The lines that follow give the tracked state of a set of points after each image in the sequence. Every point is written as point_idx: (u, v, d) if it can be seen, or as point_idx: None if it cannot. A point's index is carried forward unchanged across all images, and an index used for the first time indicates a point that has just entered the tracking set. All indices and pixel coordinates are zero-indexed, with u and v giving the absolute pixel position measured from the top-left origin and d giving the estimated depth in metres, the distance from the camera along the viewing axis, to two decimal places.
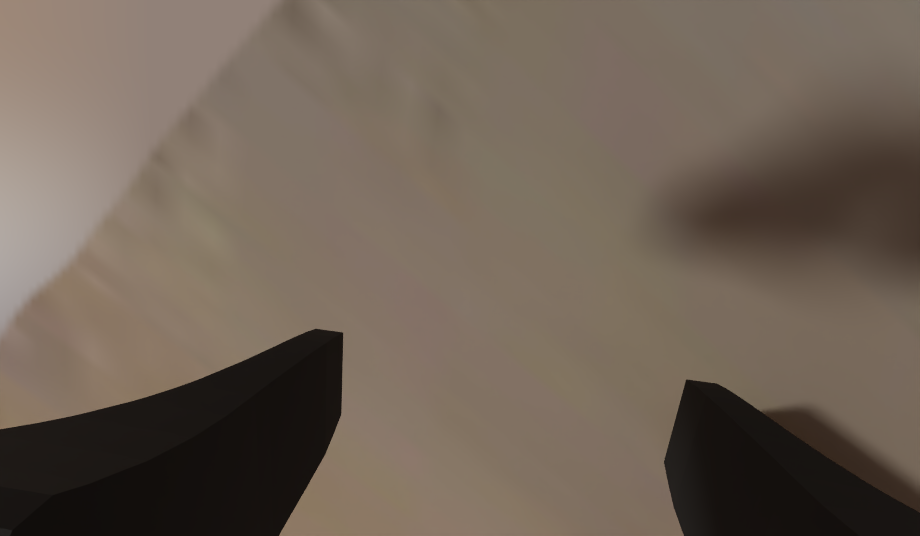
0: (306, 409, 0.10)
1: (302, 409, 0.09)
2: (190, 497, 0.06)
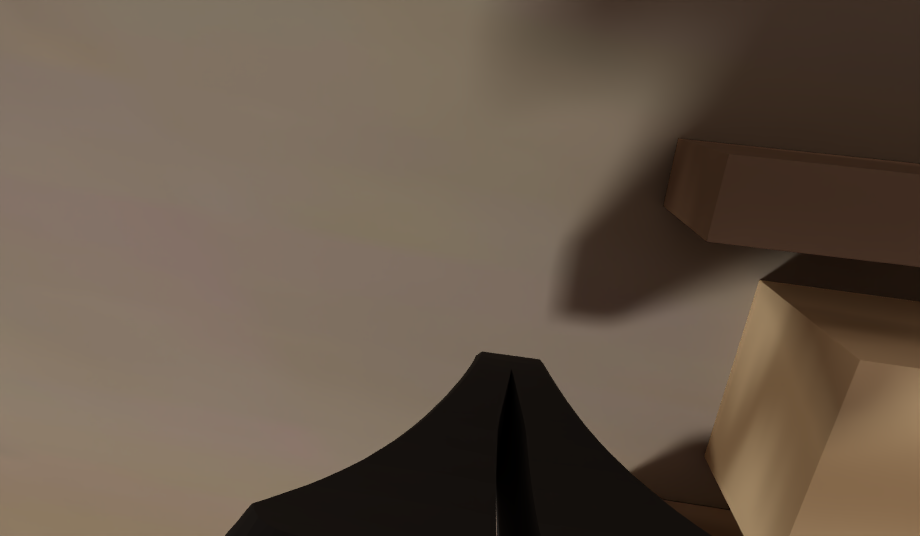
0: (499, 438, 0.09)
1: (498, 439, 0.09)
2: None
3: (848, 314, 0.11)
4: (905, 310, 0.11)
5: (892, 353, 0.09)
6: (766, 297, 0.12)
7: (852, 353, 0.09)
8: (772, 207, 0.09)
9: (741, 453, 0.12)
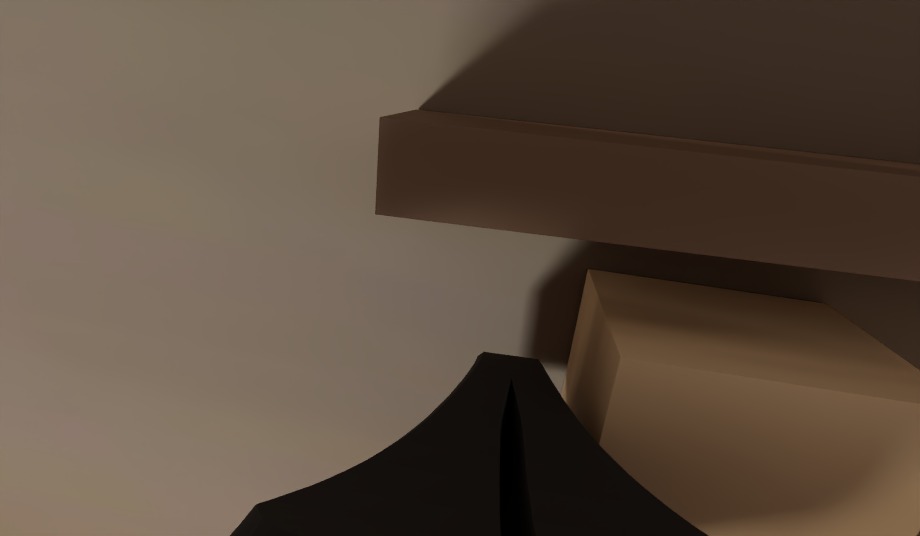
0: (501, 438, 0.09)
1: (501, 439, 0.09)
2: None
3: (658, 308, 0.10)
4: (731, 304, 0.10)
5: (668, 349, 0.08)
6: (589, 289, 0.11)
7: (618, 350, 0.08)
8: (434, 176, 0.08)
9: None
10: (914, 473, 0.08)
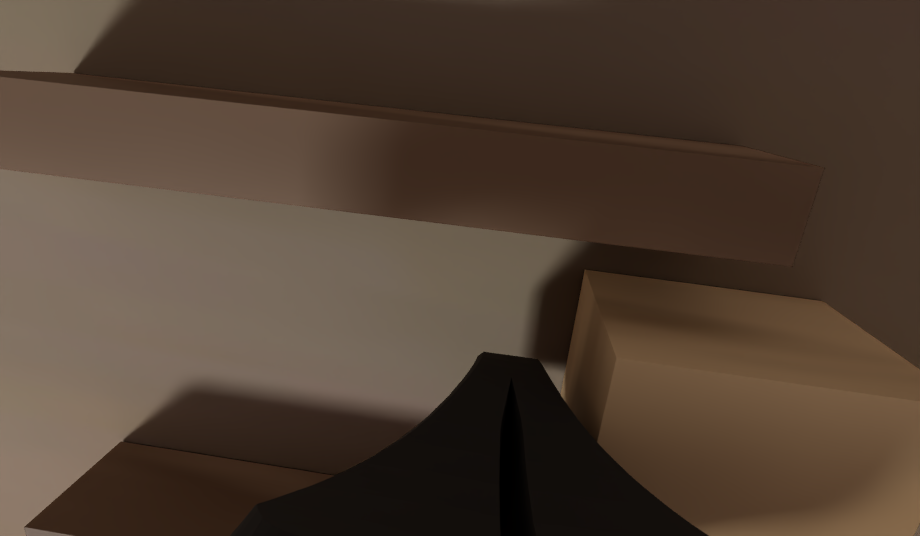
0: (501, 438, 0.09)
1: (501, 439, 0.09)
2: None
3: (654, 308, 0.10)
4: (728, 303, 0.10)
5: (664, 350, 0.08)
6: (586, 290, 0.11)
7: (613, 351, 0.08)
8: None
9: None
10: (911, 469, 0.08)
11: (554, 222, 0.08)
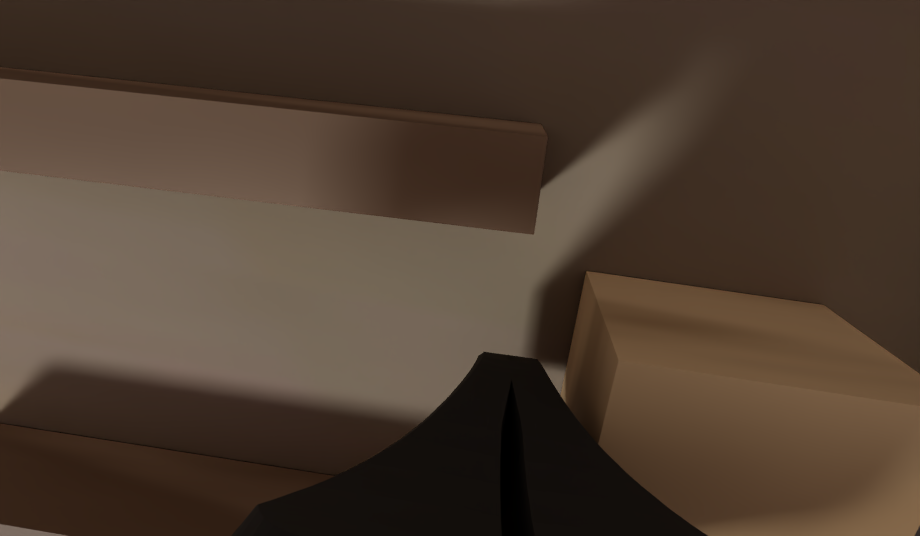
0: (502, 438, 0.09)
1: (502, 439, 0.09)
2: None
3: (656, 310, 0.10)
4: (729, 306, 0.10)
5: (666, 352, 0.08)
6: (587, 291, 0.11)
7: (616, 353, 0.08)
8: None
9: None
10: (910, 474, 0.08)
11: (308, 193, 0.09)
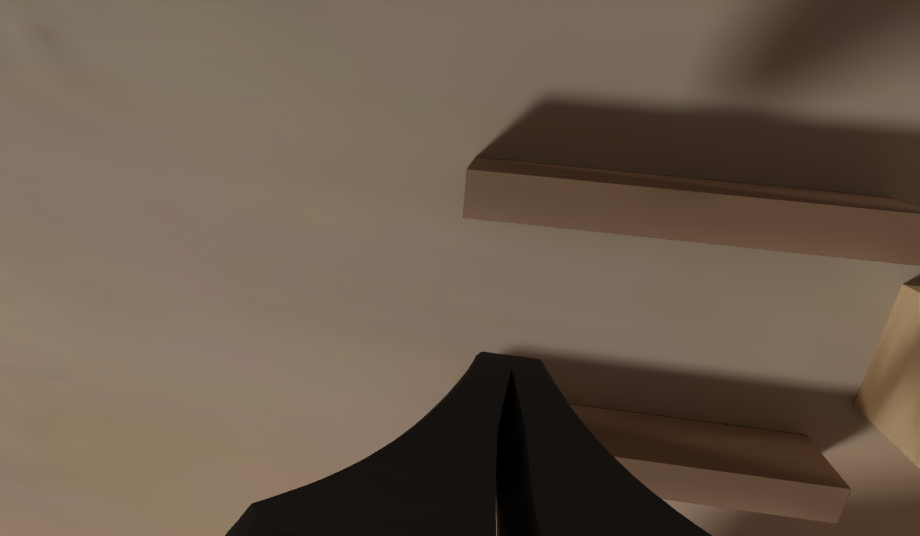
0: (499, 438, 0.09)
1: (499, 439, 0.09)
2: None
3: None
4: None
5: None
6: (910, 295, 0.18)
7: None
8: (494, 197, 0.16)
9: (892, 397, 0.18)
10: None
11: (811, 246, 0.16)
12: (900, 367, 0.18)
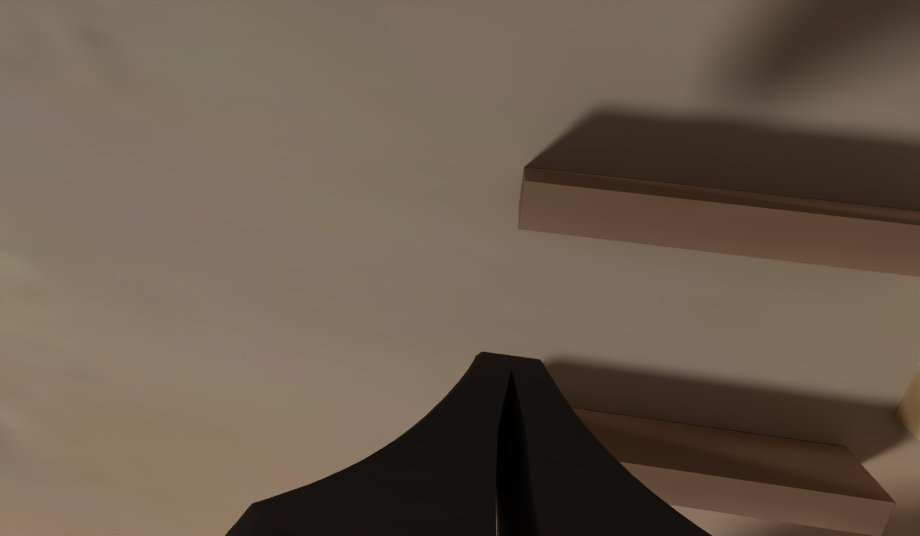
0: (499, 438, 0.09)
1: (499, 439, 0.09)
2: None
3: None
4: None
5: None
6: None
7: None
8: (551, 210, 0.16)
9: None
10: None
11: (869, 262, 0.16)
12: None
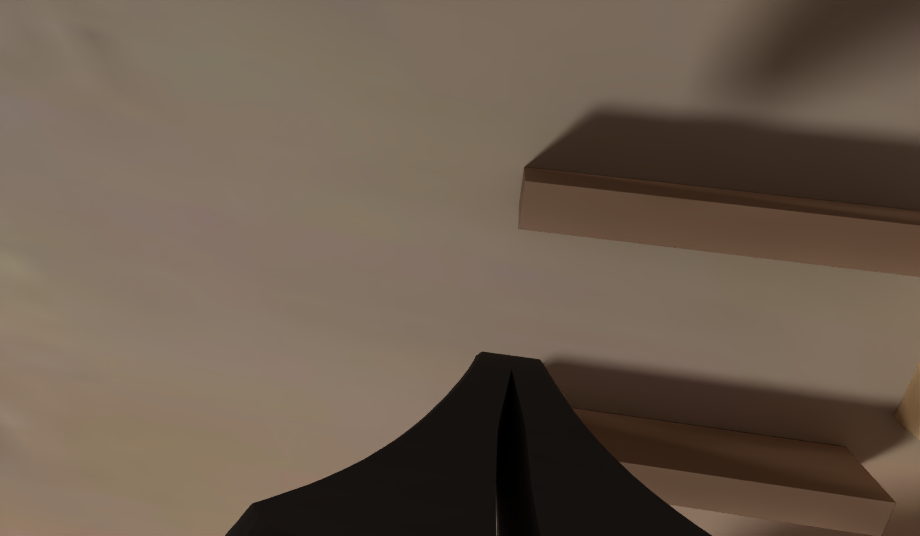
0: (499, 438, 0.09)
1: (499, 439, 0.09)
2: None
3: None
4: None
5: None
6: None
7: None
8: (551, 210, 0.16)
9: None
10: None
11: (869, 262, 0.16)
12: None
